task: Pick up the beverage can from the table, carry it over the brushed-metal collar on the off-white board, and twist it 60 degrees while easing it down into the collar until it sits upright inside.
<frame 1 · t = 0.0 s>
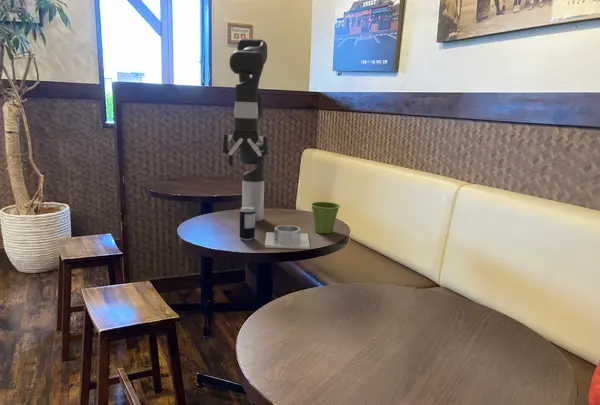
hand: (245, 167, 148), 29 cm above the table, tool pointing down, fingers open, 8 cm apart
beverage can: (247, 239, 170), on the table
metal collar: (287, 241, 169), on the table
plant pot: (323, 232, 184), on the table
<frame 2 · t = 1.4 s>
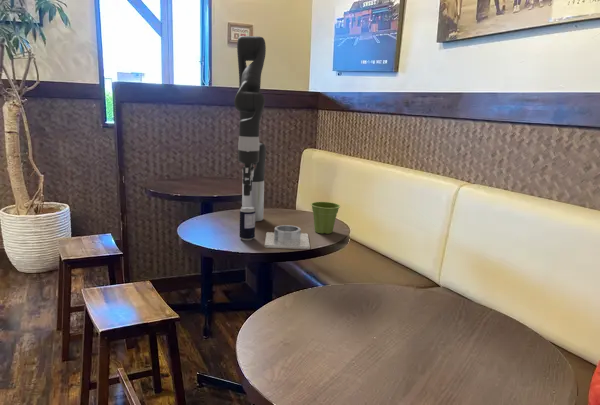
hand: (247, 193, 166), 17 cm above the table, tool pointing down, fingers open, 8 cm apart
nothing on the table moved.
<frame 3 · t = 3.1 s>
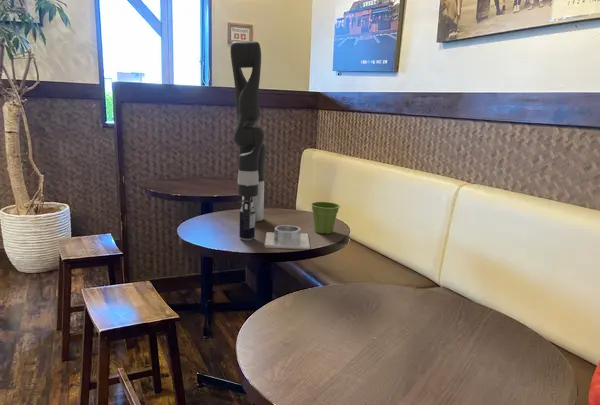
hand: (247, 226, 169), 5 cm above the table, tool pointing down, fingers closed on beverage can, 5 cm apart
beverage can: (246, 239, 170), on the table, touching gripper
everything else where it was.
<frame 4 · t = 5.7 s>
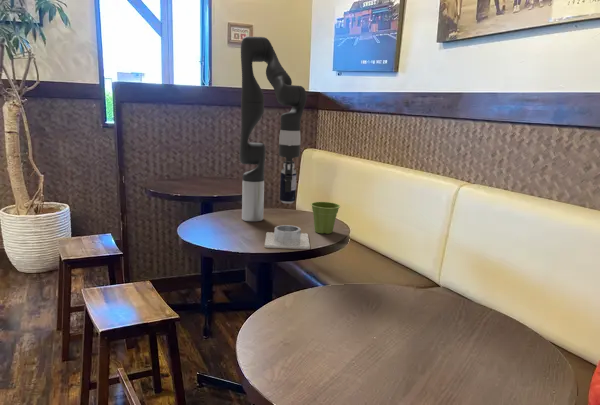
hand: (288, 189, 164), 20 cm above the table, tool pointing down, fingers closed on beverage can, 5 cm apart
beverage can: (287, 202, 165), point 15 cm above the table, touching gripper
everything else where it was.
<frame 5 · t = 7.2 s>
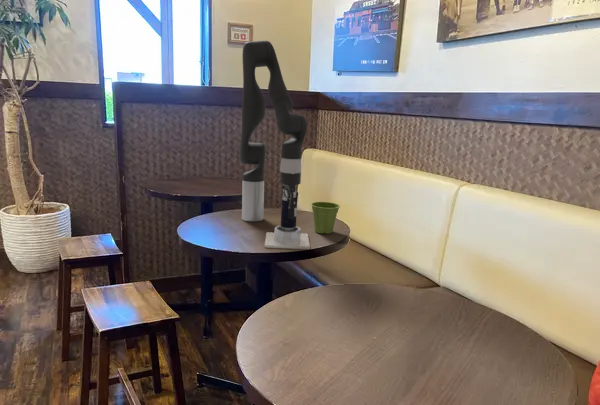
hand: (288, 216, 167), 10 cm above the table, tool pointing down, fingers closed on beverage can, 5 cm apart
beverage can: (288, 228, 168), point 5 cm above the table, touching gripper
everything else where it was.
when the fingers open (7 cm above the table, at t = 8.4 s): beverage can drops 1 cm, resting on metal collar.
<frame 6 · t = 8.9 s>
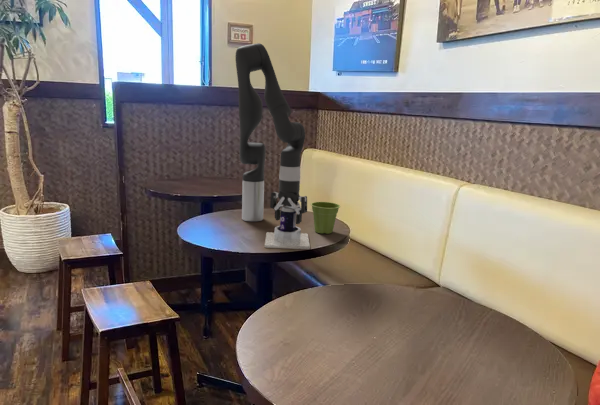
hand: (287, 221, 167), 8 cm above the table, tool pointing down, fingers open, 8 cm apart
beverage can: (287, 239, 168), point 1 cm above the table, touching metal collar
everything else where it was.
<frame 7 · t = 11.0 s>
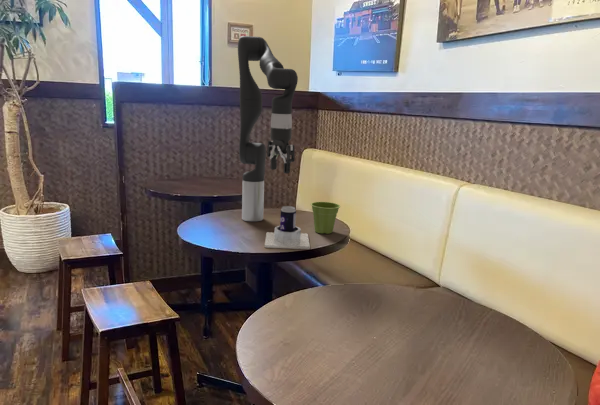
hand: (280, 171, 166), 26 cm above the table, tool pointing down, fingers open, 8 cm apart
nothing on the table moved.
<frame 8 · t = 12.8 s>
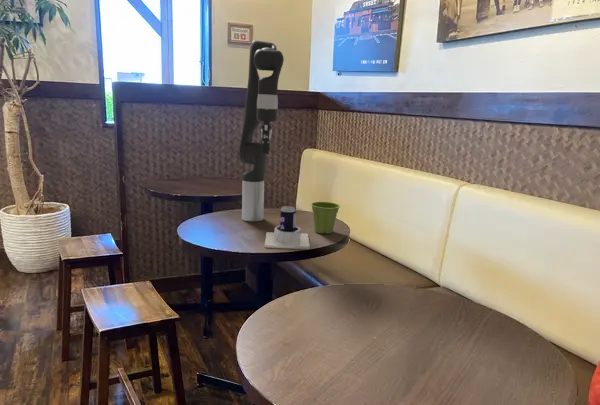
hand: (266, 152, 168), 32 cm above the table, tool pointing down, fingers open, 8 cm apart
nothing on the table moved.
at the end: beverage can 0.0 cm off-centre on the metal collar, point 0.8 cm above the metal collar's base; beverage can tilted 0°; the gripper is holding nothing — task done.
